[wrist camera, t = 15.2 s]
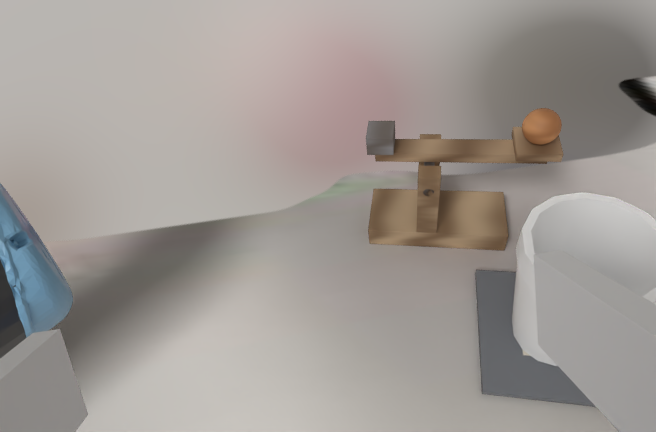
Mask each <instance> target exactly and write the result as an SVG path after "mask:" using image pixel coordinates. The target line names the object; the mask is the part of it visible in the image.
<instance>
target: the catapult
mask: <svg viewBox="0 0 656 432" xmlns="http://www.w3.org/2000/svg"><path fill="white" fill-rule="evenodd" d="M560 131H561V120H560V117H559V116H558V114H557V113H556V112H554V111H553V110H550V109H546V108H541V109H536V110H534V111H532V112H530V113H529V114H528V115H527V116H526V117H525V119H524V121H523V124H522V127H513V130H512V139H513V140H473V139H471V140H470V139H469V140H468V139H466V140H465V139H441V135H440V134H435V135H433V134H420V139H395V121H369V122H368V128H367V135H366V144H367V154H368V155H375V159H376V161H396V162H397V161H398V162H419V169H418V190H402V189H374V190H373V198H372V205H371V213H370V221H369V229H368V232H369V242H370V244H389V245H408V246H428V247H447V248H467V249H486V250H505V246H506V243H507V239H508V229H507V220H506V212H505V203H504V194H503V192H478V191H440V183H441V166H439V164H440V162H467V163H469V162H470V163H471V162H472V163H538V164H547V162H549V161H550V162H561V160H562V157H563V151H562V147H561V143H560V139H559V133H560Z"/></svg>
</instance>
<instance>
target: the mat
mask: <svg viewBox="0 0 656 432" xmlns="http://www.w3.org/2000/svg"><path fill="white" fill-rule="evenodd" d="M475 274H476V292H477V311H478V329H479V347H480V366H481V384H482V394H489V395H498V396H506V397H515V398H524V399H533V400H542V401H551V402H559V403H568V404H577V405H586V406H595V405H594V404H593V403H592V402H591V401H590V400H589V399H588V398H587V397H586V396H585V394H584V393H583V392H582V391H581V390H580V389H579V388H578V387H577V386H576V385H575V384H574V383H573V382H572V381H571V379H570V378H569V377H568V376H567V375H566V374H565V373H564V372H563V371H562V370H561V369H560V368H559V367H558V366H553V365H550V364H547V363H543V362H540V361H537V360H536V359H534V358H533V357H532V356H530V355H529V354H528V353H526V352H525V351H524V350H522V348H521V346H520V345H519V343H518V342H517V340H516V338H515V337H514V335H513V326H512V313H513V302H514V291H515V281H516V272H504V271H487V270H476V273H475ZM595 407H596V406H595Z"/></svg>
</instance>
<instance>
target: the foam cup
mask: <svg viewBox="0 0 656 432" xmlns="http://www.w3.org/2000/svg"><path fill="white" fill-rule="evenodd" d="M558 250H563V251H564V252H566V253H568V254H569V255H571V256H573V257H575V258H576V259H578V260H580V261H582V262H583V263H585V264H587V265H589V266H590V267H592V268H594V269H595V270H597V271H599V272H601V273H602V274H604V275H606V276H608V277H609V278H611V279H613V280H614V281H616V282H618V283H620V284H621V285H623V286H625V287H627V288H628V289H630V290H632V291H633V292H635V293H637V294H639V295H640V296H642V297H644V298H646V299H647V300H649V301H651V302H652V303H654V304H656V220H655V219H654V218H653V217H652V216H651V215H650V214H648V213H647V212H645V211H643V210H641V209H639V208H637V207H635V206H633V205H631V204H629V203H626V202H624V201H622V200H620V199H618V198H615V197H609V196H604V195H598V194H592V193H586V192H580V193H573V194H565V195H558V196H553V197H552V198H550V199H548V200H547V201H545V202H543V203H541V204H540V205H538V206H536V207H535V208H533V209H532V210H531V212H530V214H529V216H528V218H527V220H526V222H525V224H524V226H523V228H522V230H521V233H520V236H519V239H518V242H517V245H516V256H517V270H516V281H515V291H514V302H513V313H512V326H513V335H514V337H515V338H516V340H517V342H518V343H519V345H520V346H521V348H522V350H524V351H525V352H526V353H528V354H529V355H530V356H532V357H533V358H534V359H536V360H537V361H540V362H543V363H547V364H550V365H553V366H557V365H556V363H555V362H554V361H553V360H552V359H551V358H550V357H549V356H548V355H547V354H546V353H545V352H544V351H543V350H542V348H541V347H540V346H539V345H538V331H537V312H536V292H535V273H534V254H539V253H545V252H552V251H558Z"/></svg>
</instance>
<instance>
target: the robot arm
mask: <svg viewBox="0 0 656 432" xmlns="http://www.w3.org/2000/svg"><path fill="white" fill-rule="evenodd" d="M534 273H535V292H536V312H537V331H538V345H539V346H540V347H541V348H542V350H543V351H544V352H545V353H546V354H547V355H548V356H549V357H550V358H551V359H552V360H553V361H554V362H555V363H556V365H557V366H558V367H559V368H560V369H561V370H562V371H563V372H564V373H565V374H566V375H567V376H568V377H569V378H570V379H571V381H572V382H573V383H574V384H575V385H576V386H577V387H578V388H579V389H580V390H581V391H582V392H583V393H584V394H585V396H586V397H587V398H588V399H589V400H590V401H591V402H592V403H593V404H594V405H595V406H596V407H597V408H598V409H599V410H600V412H601V413H602V414H603V415H604V416H605V417H606V418H607V419H608V420H609V421H610V422H611V423H612V424H613V425H614V427H615V428H616V429H617V430H618V431H619V432H656V304H654V303H652V302H651V301H649V300H647V299H646V298H644V297H642V296H640V295H639V294H637V293H635V292H633V291H632V290H630V289H628V288H627V287H625V286H623V285H621V284H620V283H618V282H616V281H614V280H613V279H611V278H609V277H608V276H606V275H604V274H602V273H601V272H599V271H597V270H595V269H594V268H592V267H590V266H589V265H587V264H585V263H583V262H582V261H580V260H578V259H576V258H575V257H573V256H571V255H569V254H568V253H566V252H564V251H563V250H558V251H552V252H545V253H539V254H534ZM72 303H73V296H72V292H71V289H70V287H69V285H68V283H67V281H66V279H65V278H64V276H63V274H62V272H61V271H60V269H59V267H58V266H57V264H56V262H55V261H54V259H53V258H52V256H51V254H50V253H49V251H48V250H47V248H46V247H45V245H44V244H43V242H42V241H41V239H40V238H39V236H38V234H37V233H36V232H35V230H34V229H33V227H32V226H31V224H30V223H29V221H28V220H27V218H26V217H25V215H24V214H23V213H22V211H21V210H20V208H19V207H18V205H17V204H16V203H15V201H14V200H13V199H12V197H11V196H10V195H9V193H8V192H7V191H6V189H5V188H4V187H3V186H2V185H1V184H0V432H75V431H76V430H77V429H78V427H79V426H80V425H81V423H82V422H83V421H84V419H85V418H86V417H87V415H88V412H87V409H86V406H85V403H84V400H83V397H82V394H81V391H80V388H79V385H78V382H77V379H76V376H75V373H74V370H73V367H72V364H71V361H70V358H69V355H68V352H67V349H66V346H65V343H64V340H63V337H62V333H61V330H60V329H55V330H50V329H51V328H53V327H54V326H55V325H56V324H58V323H59V322H60V321H62V320H63V319H64V318H65V317H66V315H67V314H68V312H69V311H70V309H71V306H72Z"/></svg>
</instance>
